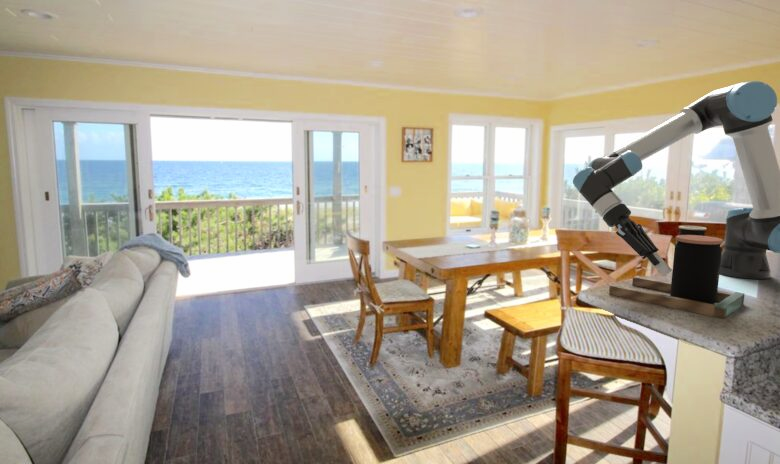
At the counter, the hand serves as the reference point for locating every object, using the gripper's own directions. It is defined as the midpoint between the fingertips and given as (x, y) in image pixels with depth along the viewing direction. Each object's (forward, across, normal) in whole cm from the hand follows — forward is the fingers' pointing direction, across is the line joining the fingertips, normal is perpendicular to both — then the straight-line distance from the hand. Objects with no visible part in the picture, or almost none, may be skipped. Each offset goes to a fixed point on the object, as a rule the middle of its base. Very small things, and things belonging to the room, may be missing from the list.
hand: (667, 273), depth 128 cm
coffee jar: (+10, -1, 0) cm, 10 cm away
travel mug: (+4, -25, -6) cm, 26 cm away
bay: (+7, 0, -3) cm, 7 cm away
